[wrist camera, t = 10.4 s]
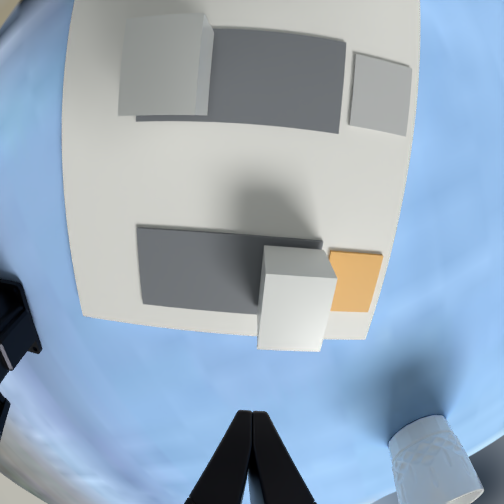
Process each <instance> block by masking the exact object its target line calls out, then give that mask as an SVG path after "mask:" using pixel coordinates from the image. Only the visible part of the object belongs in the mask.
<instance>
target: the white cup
mask: <svg viewBox="0 0 504 504" xmlns="http://www.w3.org/2000/svg"><path fill="white" fill-rule="evenodd" d="M389 453H390V457H391V461H392V471H393V475H394V481H395V486H396V491H397V496H398V500H399V504H470V503H472V502H473V501H474V500H475V499H477V498H478V497H479V496H480V495H481V494H482V493H483V491H484V488H483V486H482V484H481V482H480V480H479V478H478V476H477V474H476V472H475V470H474V468H473V466H472V464H471V462H470V460H469V458H468V456H467V454H466V452H465V450H464V448H463V446H462V445H461V443H460V441H459V439H458V438H457V436H456V435H455V434H454V433H453V431H452V429H451V427H450V425H449V423H448V421H447V420H446V419H445V418H444V416H442V415H431V416H428V417H424V418H420V419H418V420H416V421H414V422H412V423H410V424H408V425H406V426H405V427H404V428H402V429H401V430H400V431H398V432H397V433H396V434H395V435H394V436H393V437H392V439H391V440H390V441H389Z"/></svg>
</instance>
